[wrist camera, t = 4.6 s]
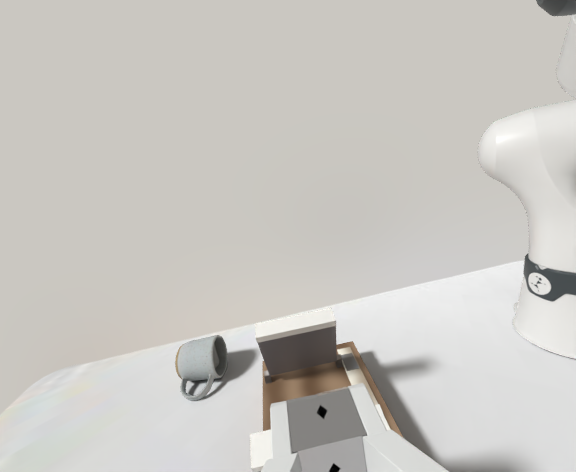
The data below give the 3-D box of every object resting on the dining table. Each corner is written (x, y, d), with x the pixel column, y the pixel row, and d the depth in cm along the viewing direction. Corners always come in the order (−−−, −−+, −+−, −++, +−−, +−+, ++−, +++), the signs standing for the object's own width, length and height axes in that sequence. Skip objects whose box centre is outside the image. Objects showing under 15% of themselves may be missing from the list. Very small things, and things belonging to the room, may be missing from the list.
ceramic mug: (193, 362, 58) (183, 332, 56) (230, 357, 57) (221, 327, 55) (172, 406, 48) (159, 372, 46) (216, 400, 47) (205, 365, 45)
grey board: (371, 446, 29) (379, 403, 22) (379, 471, 27) (391, 434, 21) (272, 470, 28) (249, 434, 22) (274, 498, 27) (251, 468, 20)
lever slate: (333, 349, 44) (331, 307, 38) (337, 362, 43) (335, 320, 36) (268, 364, 44) (254, 324, 37) (269, 377, 42) (255, 337, 35)
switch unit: (355, 359, 51) (351, 332, 49) (447, 547, 25) (445, 504, 24) (267, 378, 50) (260, 352, 48) (272, 593, 25) (259, 551, 23)
